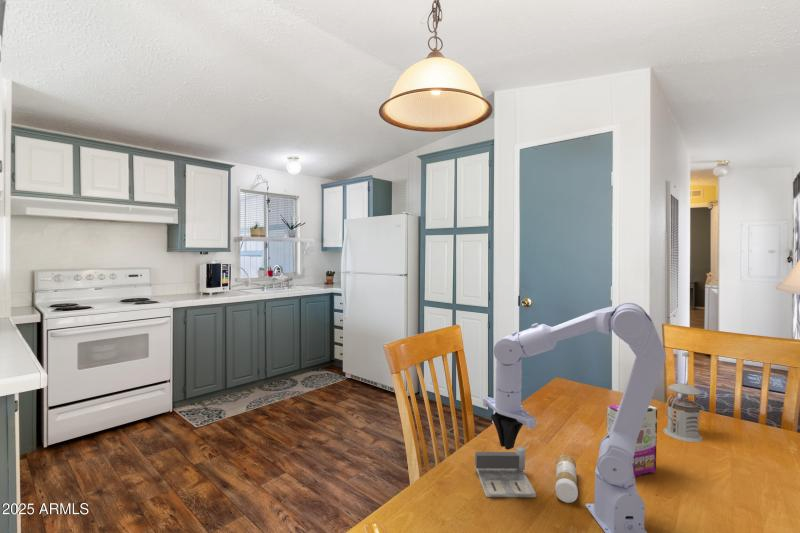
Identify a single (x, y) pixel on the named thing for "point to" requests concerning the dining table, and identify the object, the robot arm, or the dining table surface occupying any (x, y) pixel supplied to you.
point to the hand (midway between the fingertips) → (507, 446)
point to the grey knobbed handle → (501, 459)
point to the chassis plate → (505, 483)
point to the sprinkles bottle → (566, 479)
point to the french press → (683, 413)
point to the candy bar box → (641, 441)
